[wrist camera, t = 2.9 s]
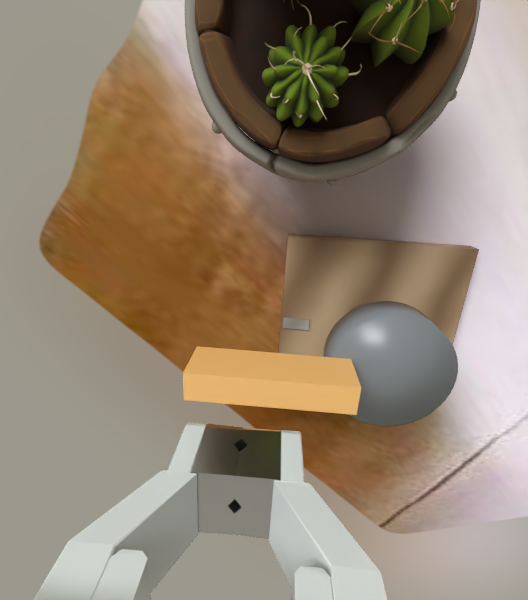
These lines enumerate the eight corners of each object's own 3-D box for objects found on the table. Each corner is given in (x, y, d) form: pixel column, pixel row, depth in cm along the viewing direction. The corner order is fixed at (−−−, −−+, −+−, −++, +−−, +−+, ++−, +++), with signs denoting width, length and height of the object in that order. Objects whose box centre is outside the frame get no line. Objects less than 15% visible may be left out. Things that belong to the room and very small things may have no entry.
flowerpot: (443, 113, 27) (823, -41, 8) (273, 213, 30) (251, 274, 11) (365, -98, 23) (743, -1410, 4) (180, 44, 26) (-93, -295, 7)
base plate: (469, 245, 30) (480, 249, 28) (429, 398, 35) (435, 408, 34) (287, 233, 30) (288, 237, 29) (275, 385, 36) (275, 395, 34)
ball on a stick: (452, 305, 25) (504, 346, 19) (425, 406, 28) (463, 468, 22) (206, 287, 26) (181, 321, 20) (206, 387, 29) (185, 443, 23)
